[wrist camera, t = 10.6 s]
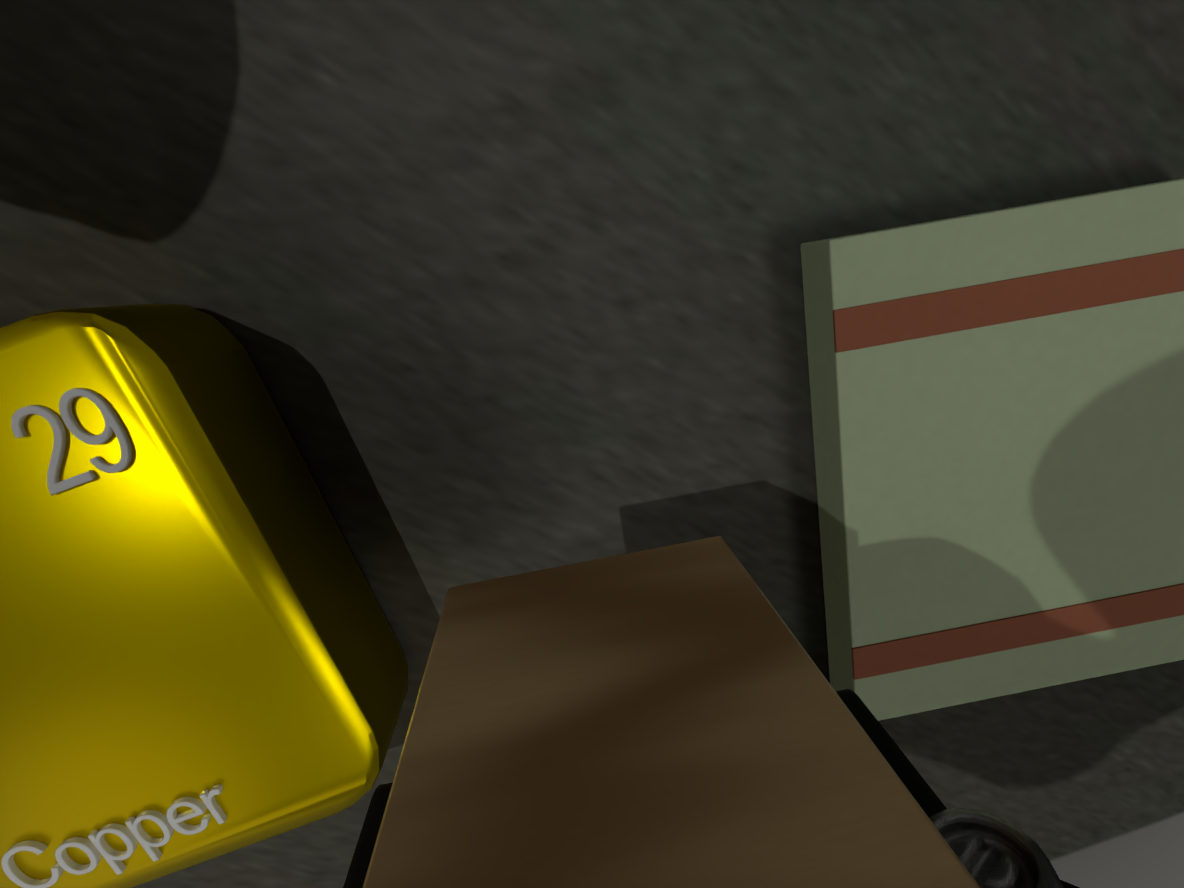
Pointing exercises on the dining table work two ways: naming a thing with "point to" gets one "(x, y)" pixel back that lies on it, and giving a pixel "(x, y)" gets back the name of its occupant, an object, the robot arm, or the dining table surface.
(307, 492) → the element tile
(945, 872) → the block
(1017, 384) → the towel
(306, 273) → the dining table surface
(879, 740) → the robot arm
